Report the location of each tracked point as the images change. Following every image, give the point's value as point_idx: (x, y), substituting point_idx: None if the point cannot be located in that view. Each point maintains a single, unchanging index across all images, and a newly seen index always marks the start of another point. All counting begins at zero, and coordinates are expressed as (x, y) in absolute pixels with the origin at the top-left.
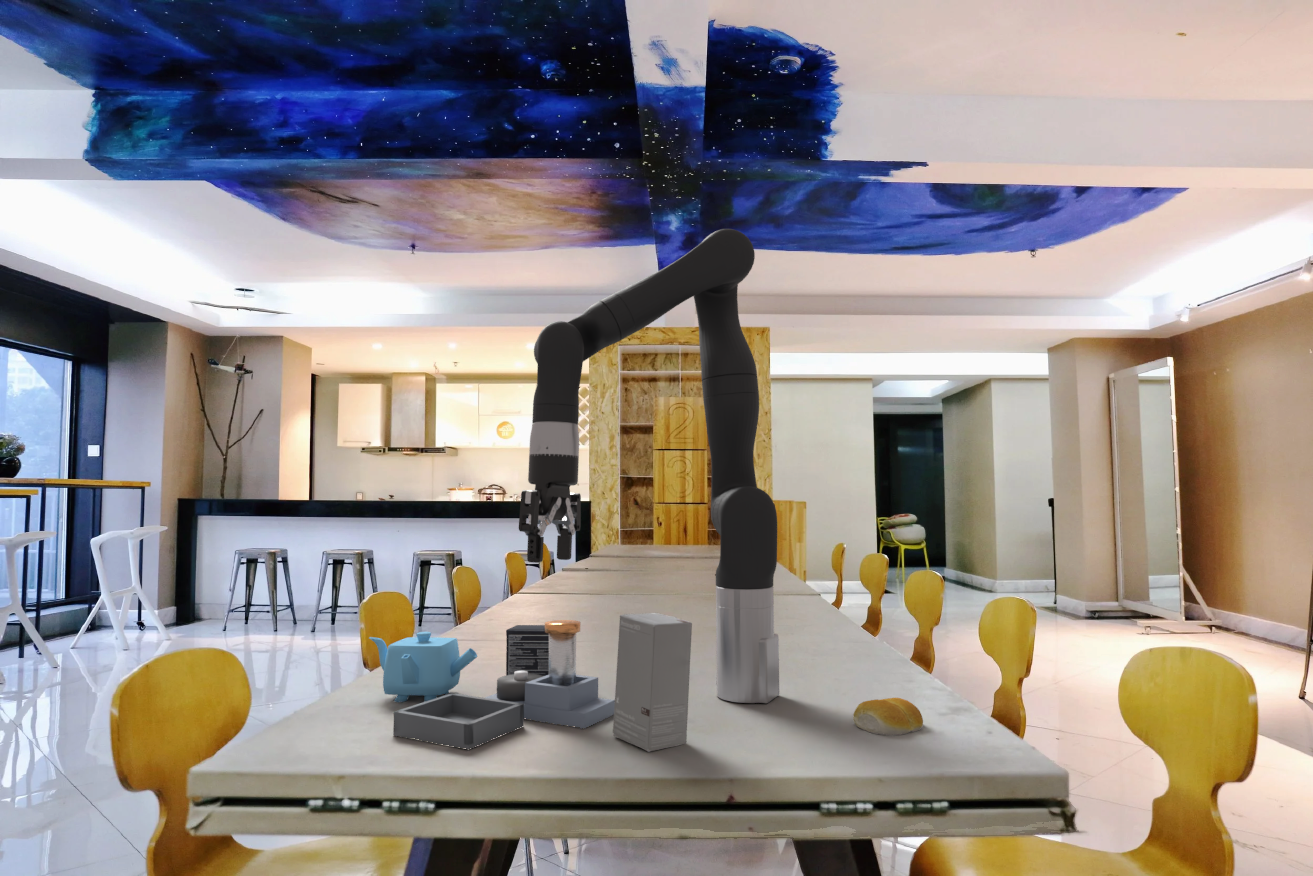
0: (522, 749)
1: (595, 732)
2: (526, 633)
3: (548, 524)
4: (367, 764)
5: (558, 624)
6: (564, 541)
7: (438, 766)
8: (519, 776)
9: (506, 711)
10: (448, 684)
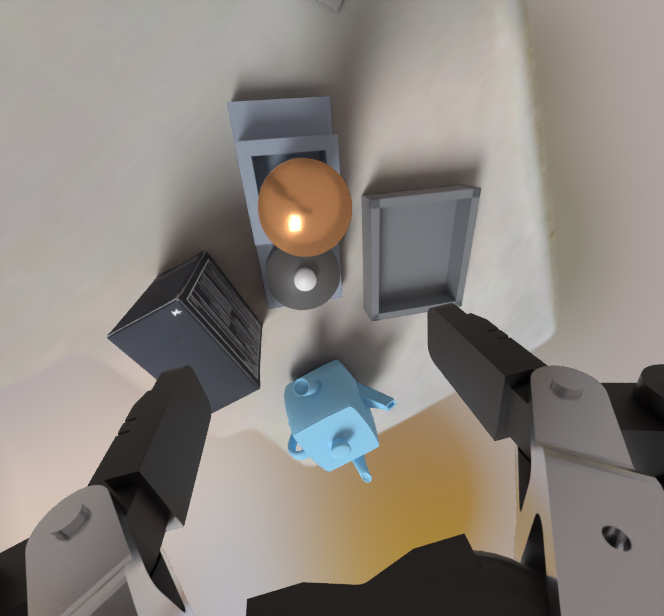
0: (436, 124)
1: (329, 69)
2: (238, 358)
3: (547, 447)
4: (521, 242)
5: (333, 201)
6: (171, 459)
7: (512, 173)
8: (522, 45)
9: (408, 195)
10: (323, 370)
